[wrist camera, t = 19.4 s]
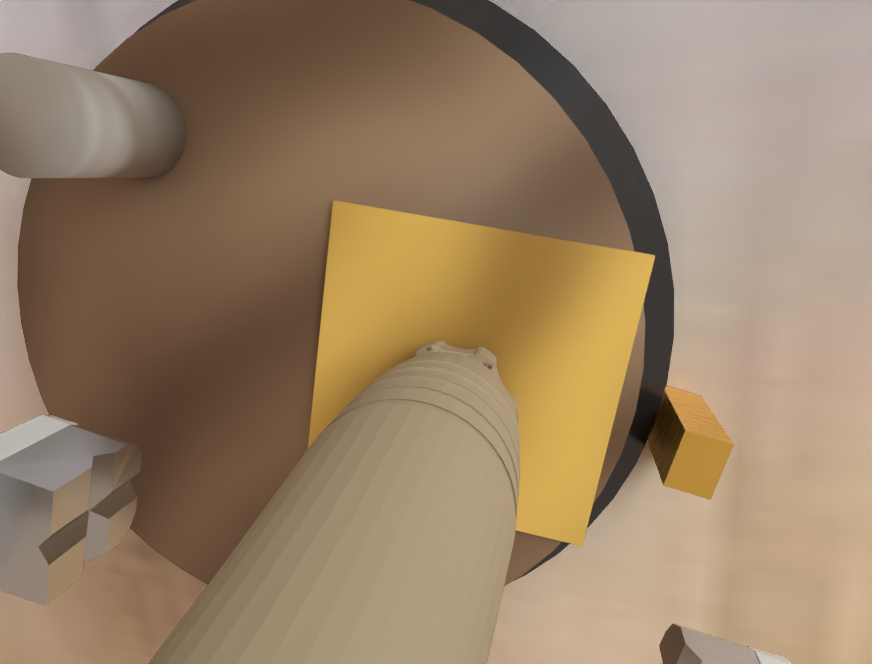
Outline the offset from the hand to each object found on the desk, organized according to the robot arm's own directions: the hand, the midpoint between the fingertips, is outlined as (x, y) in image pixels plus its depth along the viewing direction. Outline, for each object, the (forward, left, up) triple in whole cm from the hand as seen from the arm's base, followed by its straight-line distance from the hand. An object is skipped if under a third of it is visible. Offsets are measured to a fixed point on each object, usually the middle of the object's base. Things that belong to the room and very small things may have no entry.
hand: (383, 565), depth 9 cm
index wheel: (0, -4, -9) cm, 10 cm away
